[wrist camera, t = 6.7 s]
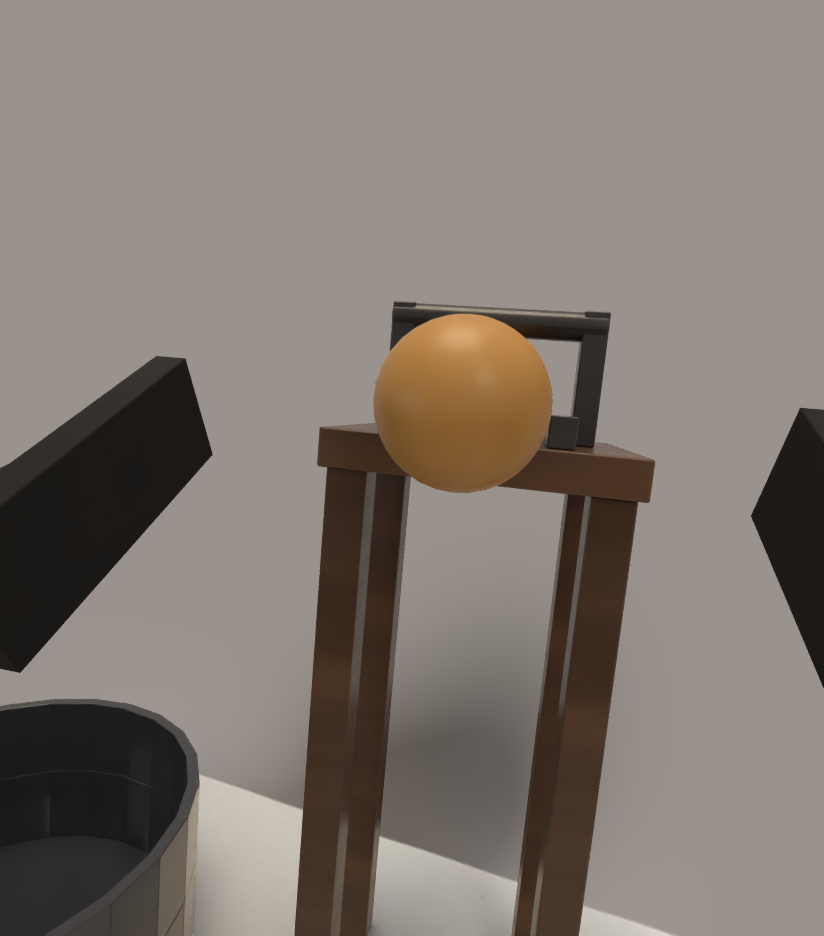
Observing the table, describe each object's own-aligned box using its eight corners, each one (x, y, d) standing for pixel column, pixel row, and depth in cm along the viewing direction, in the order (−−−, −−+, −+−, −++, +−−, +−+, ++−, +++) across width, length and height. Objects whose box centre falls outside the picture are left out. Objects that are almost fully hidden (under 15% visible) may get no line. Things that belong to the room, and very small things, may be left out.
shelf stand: (552, 1202, 22) (679, 292, 18) (273, 1108, 24) (328, 276, 20) (542, 959, 32) (622, 334, 28) (343, 907, 34) (390, 320, 30)
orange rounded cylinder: (543, 526, 11) (570, 312, 10) (346, 502, 11) (354, 301, 10) (533, 426, 25) (543, 335, 24) (445, 417, 26) (453, 330, 25)
